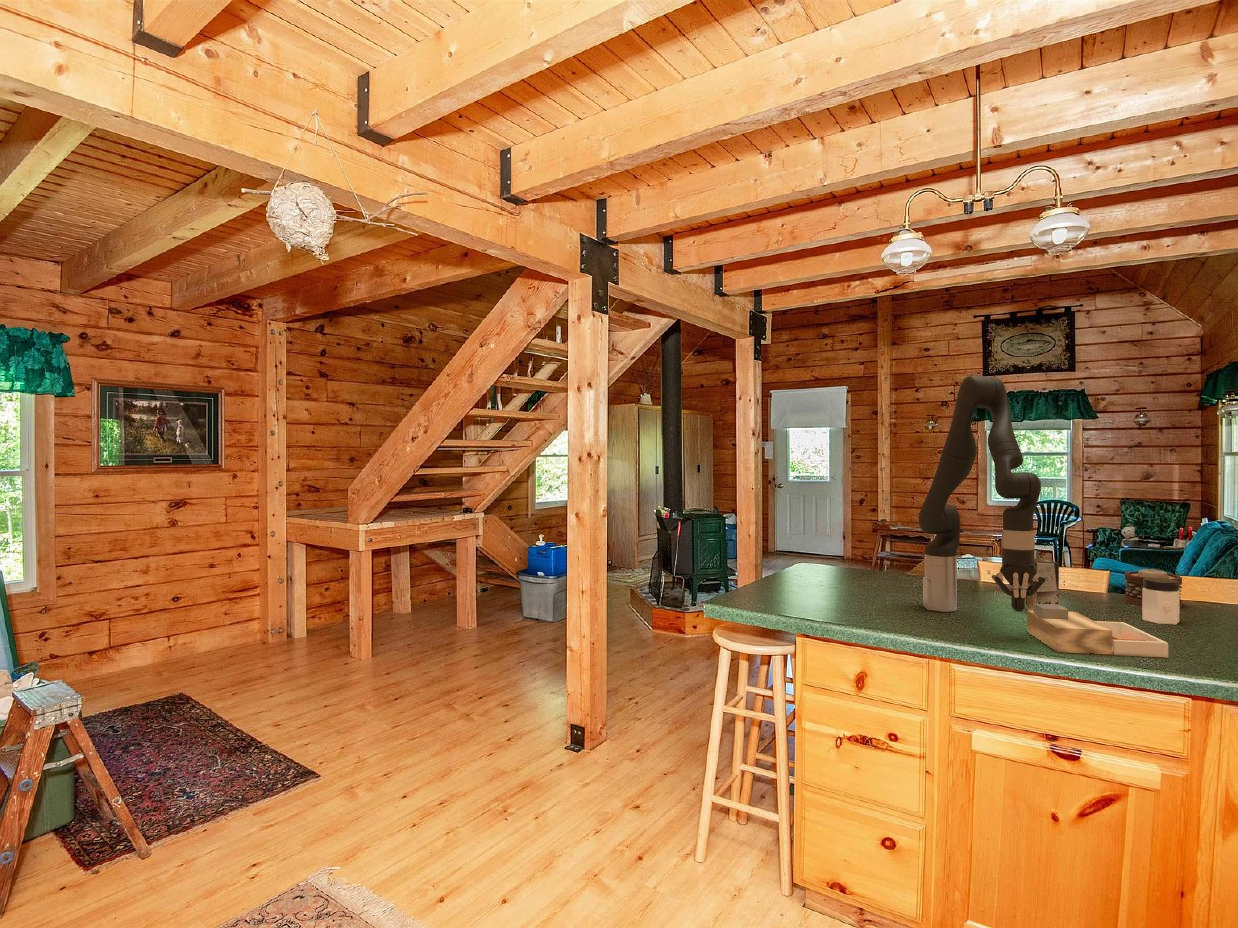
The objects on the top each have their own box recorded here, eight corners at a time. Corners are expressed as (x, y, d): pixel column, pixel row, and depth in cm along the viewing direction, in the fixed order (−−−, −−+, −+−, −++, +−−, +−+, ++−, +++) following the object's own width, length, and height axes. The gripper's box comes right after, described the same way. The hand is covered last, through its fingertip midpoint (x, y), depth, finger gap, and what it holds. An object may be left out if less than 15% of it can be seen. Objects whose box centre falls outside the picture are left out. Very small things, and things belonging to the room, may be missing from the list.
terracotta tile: (1145, 639, 165) (1145, 649, 165) (1130, 633, 170) (1130, 642, 171) (1118, 638, 165) (1118, 648, 166) (1104, 632, 171) (1104, 642, 171)
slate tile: (1042, 618, 175) (1042, 608, 175) (1033, 612, 181) (1033, 603, 181) (1068, 619, 174) (1068, 609, 174) (1058, 613, 180) (1058, 604, 180)
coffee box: (1059, 616, 201) (1060, 562, 200) (1036, 615, 202) (1036, 562, 202) (1047, 609, 210) (1046, 558, 209) (1024, 608, 211) (1024, 557, 211)
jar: (1148, 623, 191) (1148, 581, 191) (1136, 616, 199) (1136, 576, 199) (1186, 625, 189) (1186, 583, 188) (1172, 618, 196) (1172, 578, 196)
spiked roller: (1113, 566, 224) (1164, 567, 221) (1113, 598, 224) (1164, 599, 221) (1140, 574, 209) (1194, 575, 207) (1139, 608, 209) (1194, 610, 207)
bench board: (1057, 651, 165) (1057, 627, 165) (1027, 631, 184) (1027, 610, 184) (1112, 654, 163) (1112, 629, 163) (1075, 633, 181) (1075, 611, 181)
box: (1114, 655, 162) (1114, 640, 162) (1076, 633, 182) (1076, 620, 182) (1168, 657, 160) (1168, 643, 160) (1123, 635, 180) (1123, 622, 179)
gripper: (995, 548, 176) (995, 613, 176) (1051, 549, 173) (1051, 615, 174) (986, 544, 184) (986, 606, 184) (1039, 545, 181) (1039, 608, 181)
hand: (1018, 610), depth 179 cm, fingers closed
